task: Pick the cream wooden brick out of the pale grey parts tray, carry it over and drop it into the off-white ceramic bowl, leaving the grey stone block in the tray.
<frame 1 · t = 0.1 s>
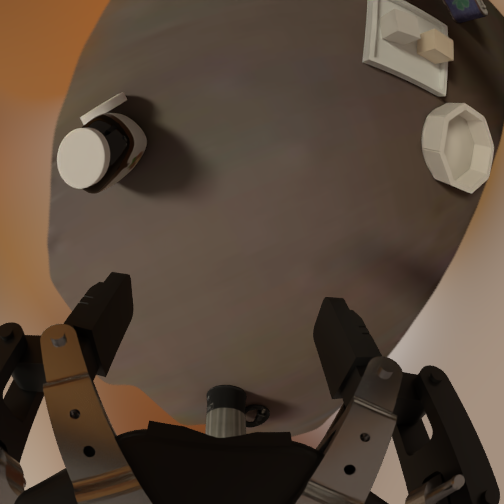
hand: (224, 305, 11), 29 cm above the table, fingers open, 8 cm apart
pebble grey: (391, 31, 27), point 1 cm above the table, touching tray
flask: (447, 4, 23), on the table
cream wooden brick: (426, 49, 27), point 1 cm above the table, touching tray
spread jar: (117, 136, 34), on the table
tray: (406, 41, 28), on the table
bowl: (449, 144, 35), on the table
milk frother: (239, 401, 59), on the table
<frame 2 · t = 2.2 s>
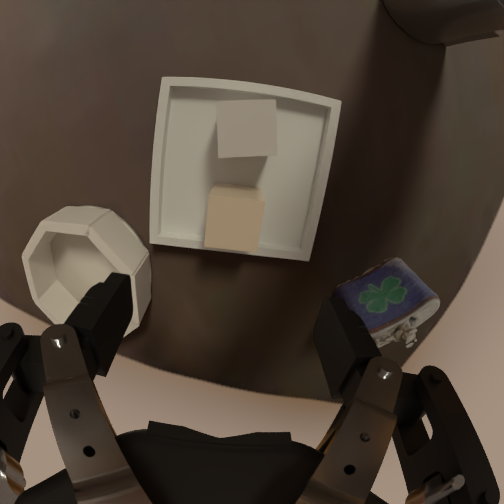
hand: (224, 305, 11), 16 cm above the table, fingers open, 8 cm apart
pebble grey: (245, 128, 22), point 1 cm above the table, touching tray
flask: (367, 278, 30), on the table
cream wooden brick: (234, 206, 25), point 1 cm above the table, touching tray
tray: (240, 166, 24), on the table
bowl: (96, 265, 28), on the table
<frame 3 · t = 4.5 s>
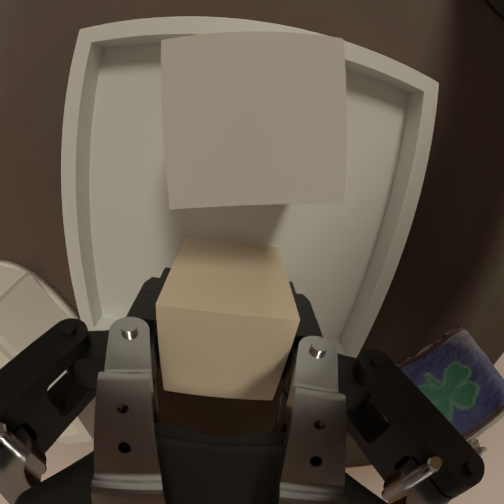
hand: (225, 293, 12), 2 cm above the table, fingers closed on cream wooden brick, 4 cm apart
pebble grey: (248, 122, 10), point 1 cm above the table, touching tray
flask: (419, 356, 18), on the table
cream wooden brick: (227, 281, 13), point 1 cm above the table, touching gripper, tray
tray: (236, 201, 12), on the table
bowl: (33, 338, 16), on the table
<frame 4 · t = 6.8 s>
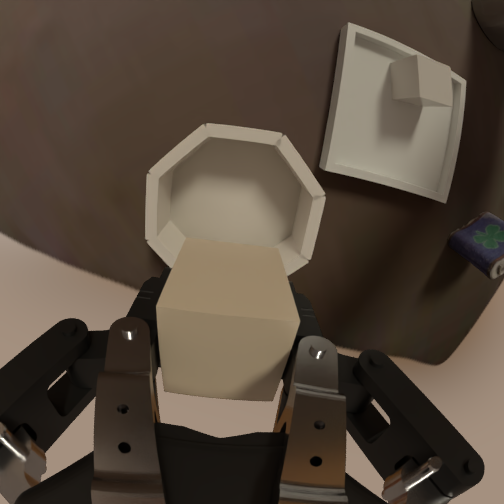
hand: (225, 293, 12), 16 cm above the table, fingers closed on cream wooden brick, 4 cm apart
pebble grey: (407, 84, 20), point 1 cm above the table, touching tray
flask: (468, 229, 28), on the table
cream wooden brick: (227, 282, 13), point 15 cm above the table, touching gripper
tray: (398, 115, 22), on the table
bowl: (234, 200, 26), on the table
when the fingers open (3 cm above the table, at t = 9.5 s): cream wooden brick drops 1 cm, resting on bowl.
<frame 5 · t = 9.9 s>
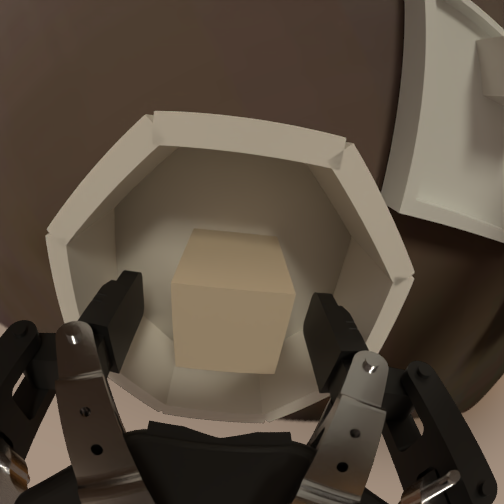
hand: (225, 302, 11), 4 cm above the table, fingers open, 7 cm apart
pebble grey: (496, 76, 9), point 1 cm above the table, touching tray
cream wooden brick: (231, 269, 14), point 1 cm above the table, touching bowl
tray: (484, 120, 11), on the table
bowl: (228, 260, 15), on the table
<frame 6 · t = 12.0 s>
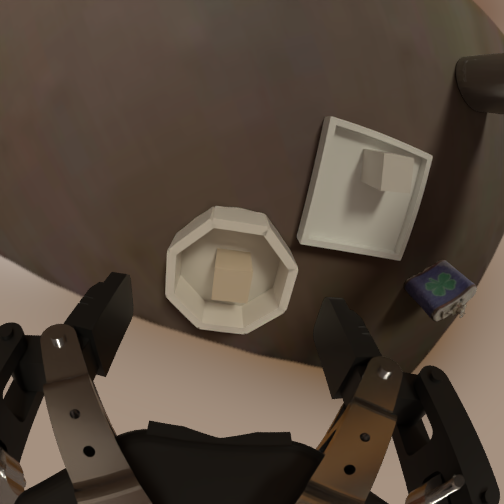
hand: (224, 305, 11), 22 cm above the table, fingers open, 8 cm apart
pebble grey: (376, 166, 29), point 1 cm above the table, touching tray
flask: (424, 274, 38), on the table
cream wooden brick: (231, 264, 34), point 1 cm above the table, touching bowl
tray: (365, 191, 32), on the table
bowl: (230, 261, 35), on the table
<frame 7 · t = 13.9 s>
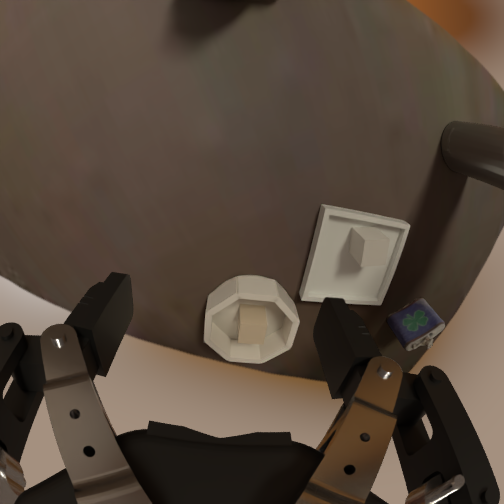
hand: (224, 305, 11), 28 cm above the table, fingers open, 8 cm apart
pebble grey: (361, 239, 40), point 1 cm above the table, touching tray
flask: (404, 309, 48), on the table
cream wooden brick: (250, 314, 45), point 1 cm above the table, touching bowl
tray: (353, 256, 42), on the table
bowl: (249, 311, 45), on the table
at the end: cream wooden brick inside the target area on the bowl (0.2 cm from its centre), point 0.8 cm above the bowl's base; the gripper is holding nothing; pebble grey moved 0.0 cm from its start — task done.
